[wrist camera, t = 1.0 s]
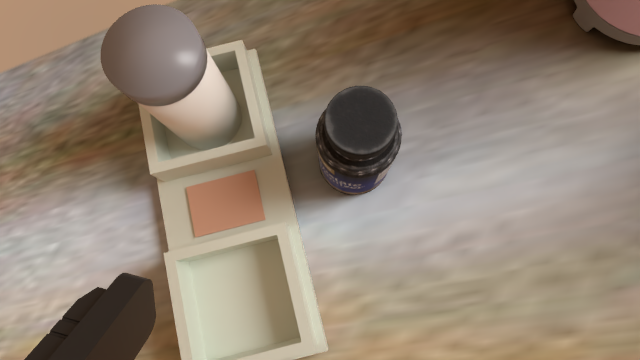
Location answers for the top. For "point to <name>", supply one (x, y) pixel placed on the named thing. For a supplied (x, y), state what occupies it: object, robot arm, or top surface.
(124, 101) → the top surface
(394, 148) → the pill bottle
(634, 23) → the blender
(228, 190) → the cream compartment organizer
